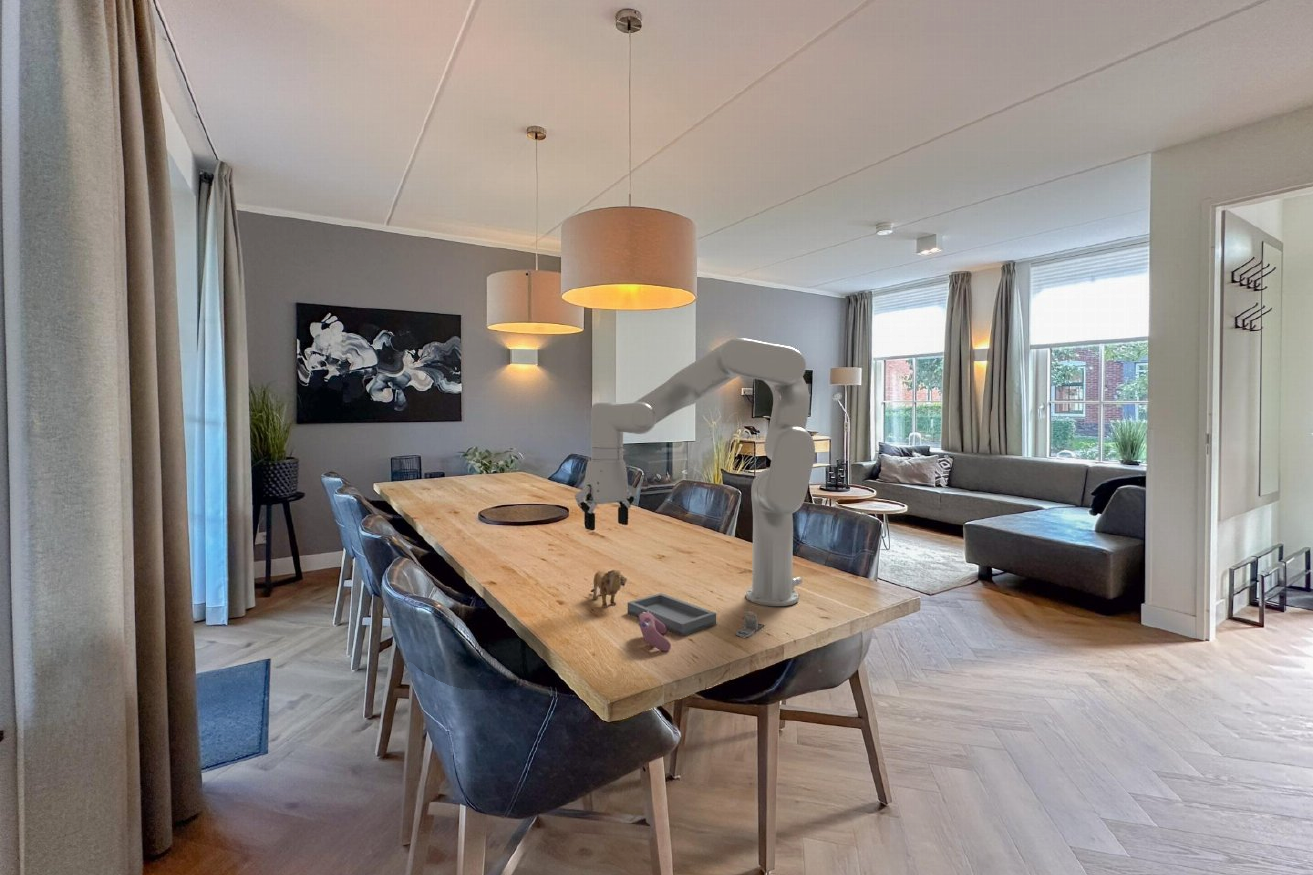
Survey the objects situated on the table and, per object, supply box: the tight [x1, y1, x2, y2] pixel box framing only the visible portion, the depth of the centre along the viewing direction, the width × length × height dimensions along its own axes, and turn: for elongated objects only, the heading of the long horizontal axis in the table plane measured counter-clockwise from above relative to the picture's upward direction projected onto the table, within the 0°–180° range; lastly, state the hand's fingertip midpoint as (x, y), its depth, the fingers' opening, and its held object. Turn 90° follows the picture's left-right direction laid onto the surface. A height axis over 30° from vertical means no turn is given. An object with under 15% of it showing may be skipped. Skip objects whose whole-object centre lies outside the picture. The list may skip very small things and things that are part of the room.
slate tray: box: [627, 593, 717, 637], centre depth 129 cm, size 10×18×2 cm, turn 41°
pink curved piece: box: [637, 611, 672, 652], centre depth 116 cm, size 10×5×7 cm, turn 5°
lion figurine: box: [590, 569, 628, 609], centre depth 141 cm, size 15×5×9 cm, turn 34°
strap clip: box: [735, 611, 765, 639], centre depth 123 cm, size 8×3×4 cm, turn 145°
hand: (606, 526), depth 140 cm, fingers open, 9 cm apart
